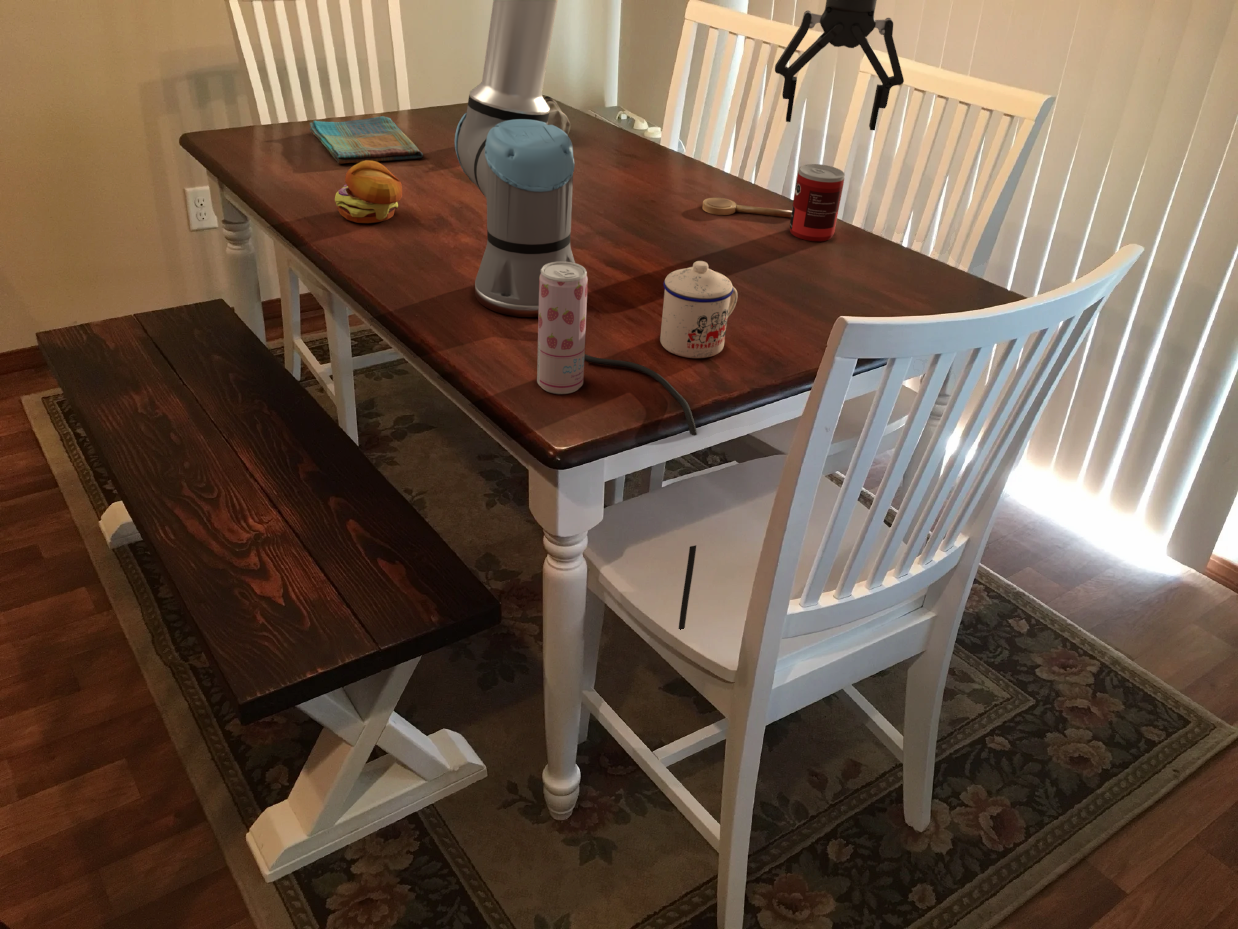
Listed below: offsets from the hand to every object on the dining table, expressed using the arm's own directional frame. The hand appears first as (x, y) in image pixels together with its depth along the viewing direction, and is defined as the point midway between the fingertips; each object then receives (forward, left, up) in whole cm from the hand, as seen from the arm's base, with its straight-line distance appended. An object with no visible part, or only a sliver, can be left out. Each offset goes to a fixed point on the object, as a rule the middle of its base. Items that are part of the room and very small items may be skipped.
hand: (829, 124), depth 162 cm
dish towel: (+64, +65, -19) cm, 93 cm away
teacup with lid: (-33, +37, -19) cm, 53 cm away
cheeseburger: (+24, +71, -19) cm, 78 cm away
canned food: (0, 0, -19) cm, 19 cm away
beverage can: (-39, +59, -19) cm, 73 cm away
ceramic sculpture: (+64, +27, -19) cm, 72 cm away
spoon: (+12, +6, -19) cm, 23 cm away
